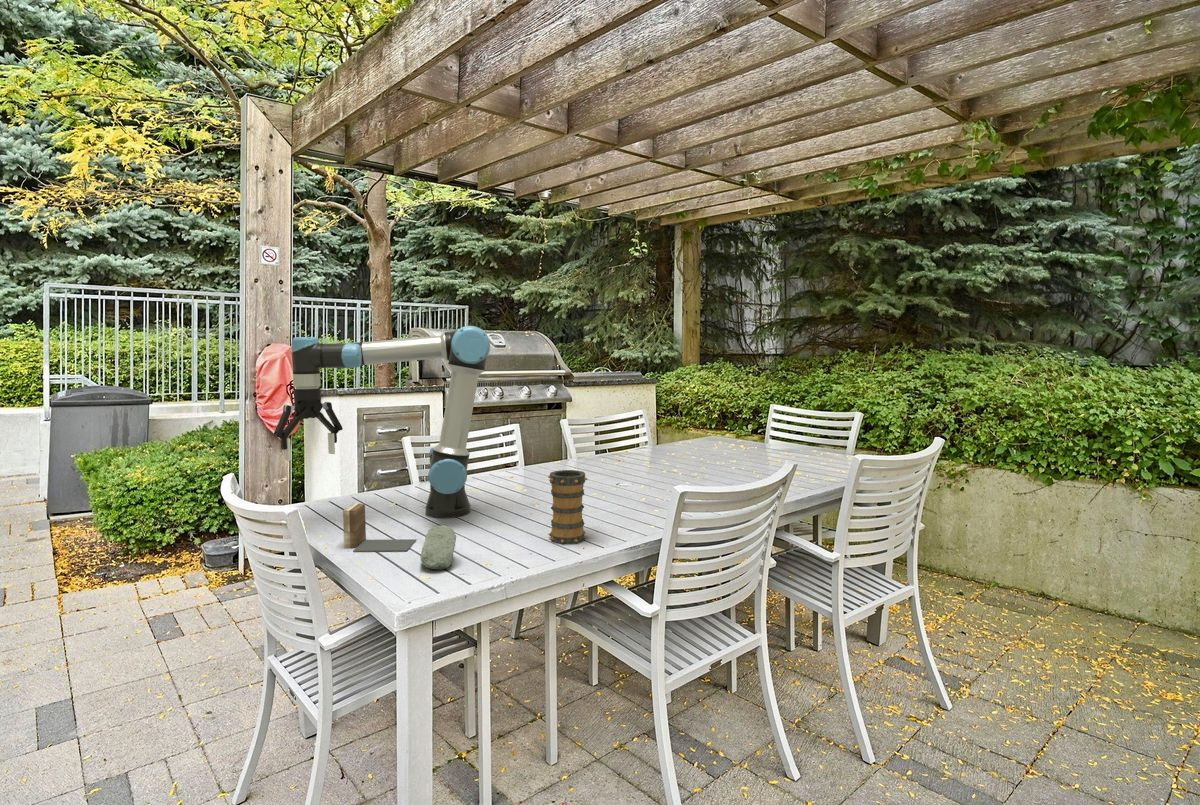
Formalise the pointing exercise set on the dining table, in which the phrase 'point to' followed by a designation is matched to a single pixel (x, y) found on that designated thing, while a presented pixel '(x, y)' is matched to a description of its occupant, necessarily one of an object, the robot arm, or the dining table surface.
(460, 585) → the dining table surface
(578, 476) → the mug
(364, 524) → the slab
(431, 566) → the decorative stone
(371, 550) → the mat
